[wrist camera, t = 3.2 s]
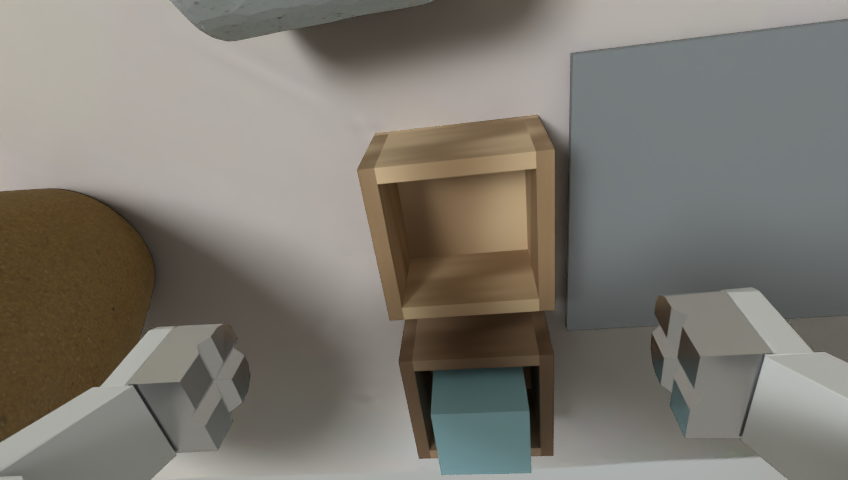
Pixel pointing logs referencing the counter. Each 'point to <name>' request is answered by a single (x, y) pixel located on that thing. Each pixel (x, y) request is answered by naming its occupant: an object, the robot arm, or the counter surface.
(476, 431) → the light blue block
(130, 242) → the plant pot
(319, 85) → the counter surface
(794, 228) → the slate mat
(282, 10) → the ceramic mug
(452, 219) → the light wooden open box
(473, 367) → the brown wooden square tray
